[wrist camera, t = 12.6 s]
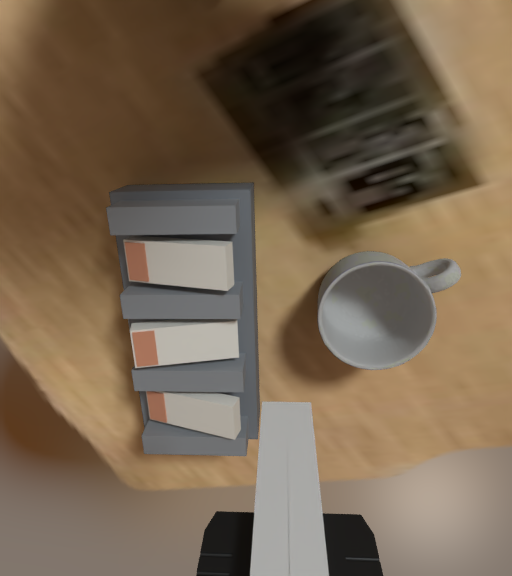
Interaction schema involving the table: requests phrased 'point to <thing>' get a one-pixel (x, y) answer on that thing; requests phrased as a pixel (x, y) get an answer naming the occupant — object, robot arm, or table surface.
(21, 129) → the table surface
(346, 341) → the teacup
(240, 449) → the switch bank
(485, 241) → the table surface
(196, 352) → the block
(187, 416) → the rocker
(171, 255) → the rocker
